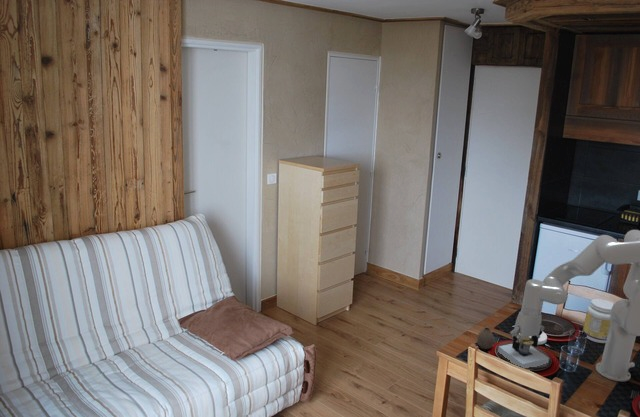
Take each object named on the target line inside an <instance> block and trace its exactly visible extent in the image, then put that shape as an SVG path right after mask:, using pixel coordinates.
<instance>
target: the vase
mask: <svg viewBox="0 0 640 417" xmlns="http://www.w3.org/2000/svg"><path fill="white" fill-rule="evenodd" d="M476 339H477V340H476V342H477V343H476V344H477V345H478V347H479V348H480V349H483V350H490V347H491V348H492V347H493V345H494V342H495V337H494V334H493V332H492V331H491V328H490V327H484V328H483V329H482V330H481V331H480V332H479V333H478V334H477V338H476Z"/></svg>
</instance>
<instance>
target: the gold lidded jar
mask: <svg viewBox="0 0 640 417" xmlns="http://www.w3.org/2000/svg"><path fill="white" fill-rule="evenodd" d="M518 338H519V337H518ZM518 338H517V339H518ZM519 342H520V346H519V352H518V353H519V354H520V355H522V356H523V357H524V356H529V350H530V345H531V346H533V345H532V344H533V343H534V340H533V339H532V338H530V337H524V338H522V339H521V340H520V341H519Z"/></svg>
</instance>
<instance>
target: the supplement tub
mask: <svg viewBox="0 0 640 417" xmlns="http://www.w3.org/2000/svg"><path fill="white" fill-rule="evenodd" d="M614 303H615V302H614ZM614 303H613V302H612V301H609V300H607V299H601V298H593V299H592V300H591V301H590V305H588V306H587V309H586V314H585V318H584V323H583V328H582V333H583V332H585V333H586V334H587V338H586V339H588V340H590V341H592V342H595V343H599V344H606V340H607V335H608V331H609V326H610V316H611V309H612V306H613V304H614Z"/></svg>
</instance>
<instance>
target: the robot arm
mask: <svg viewBox="0 0 640 417" xmlns="http://www.w3.org/2000/svg"><path fill="white" fill-rule="evenodd" d="M605 263H607V264H609V265H628V264H631V266H630V268H629V271H628V273H627V276H626V279H625V282H624V284H623V290H622V291H623V293H624V295H625V296H626V298H622V299H618V300H616V301H615V302H614V304H613V306H612V309H611V316H610V326H609V331H608V335H607V340H606V343H604V348H603V354H602V358H601V361H599V362H597V363H596V365H595V370H596V371H597V373H598V374H599V375H601V376H603V377H604V378H606V379H608V380H612V381H615V382H627V381H629V380H630V379H631V376H632V375H631V373H630V371H629V370H630V369H631V368H634V367H635V365H636V364H635V362H633V361H631V357H632V353H633V349H634V345H635V342H636V337H640V230H639V229H631V230H628V231H627V232H626V234H624V238H623V241H618V240H617V239H616V238H614V237H613V236H611V235H609V234H601V235H599V236H598V237H596V238H595V239H594V240H592V242H590V244H588V245H587V246H586V247H585V248H584V249H583V250H582V251H581V252H580V253H579V254H578V255H577V256H576V257H574V258H573V259H571V260H569V261H566V262H565V263H562V264H559V266H557V267H555V268H554V269H553V270H552V271H550V273H548V275H546V276H545V277H544V279H543V280H539V279H533V278H531V279H528V280H526V282H525V287H524V293H523V297H522V305H521V309H520V311H519V312H518V315H517V317H516V319H515V324H514V328H513V329H512V330H511V331H510V332H509V333H510V337H511V339H512V344H513V345H512V348H513V349H515V350H516V351H519V346H520V342H519V341H520V340H521V339H522V338H524V337H530V336H531V338H532V339H533V340H534V343H533V344H532V345H531V346H532V347H533V348H538V338H540V335H541V334H542V331H543V332H544V330H545V329H546V327H545V326H544V325H542V310H543V307H544V306H543V305H544V302H545V303H548V304H553V305H563V304H565V303H566V302H567V300H568V292H567V290H566V289H565V287H564V285H565V284H566V283H568V282H569V281H570V280H572V279H574V278H576V277H584V276H586V277H589V276H592V275H593V274H594V273H595V272H597V270H598V269H599V268H600V267H602V266H603V265H604V264H605ZM627 298H628V299H627ZM519 333H520V334H521V335H520V334H519ZM517 336H519V338H517ZM630 361H631V362H630Z"/></svg>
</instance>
